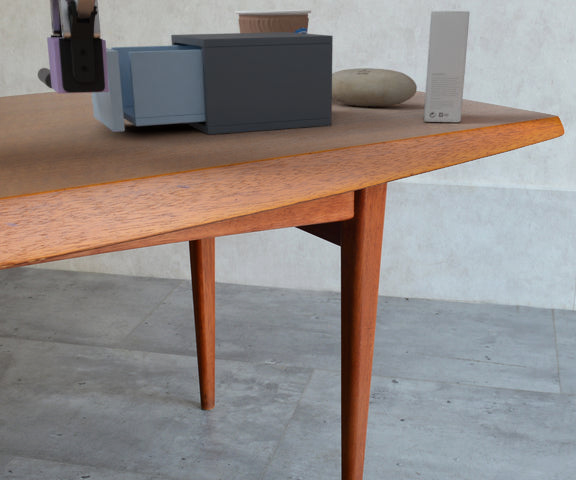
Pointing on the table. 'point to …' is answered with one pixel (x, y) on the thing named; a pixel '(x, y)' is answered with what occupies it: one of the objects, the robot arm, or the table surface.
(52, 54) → the cube
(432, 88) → the cosmetic box
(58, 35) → the robot arm
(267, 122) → the cabinet
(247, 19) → the coffee cup
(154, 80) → the drawer
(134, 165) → the table surface
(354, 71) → the stone
